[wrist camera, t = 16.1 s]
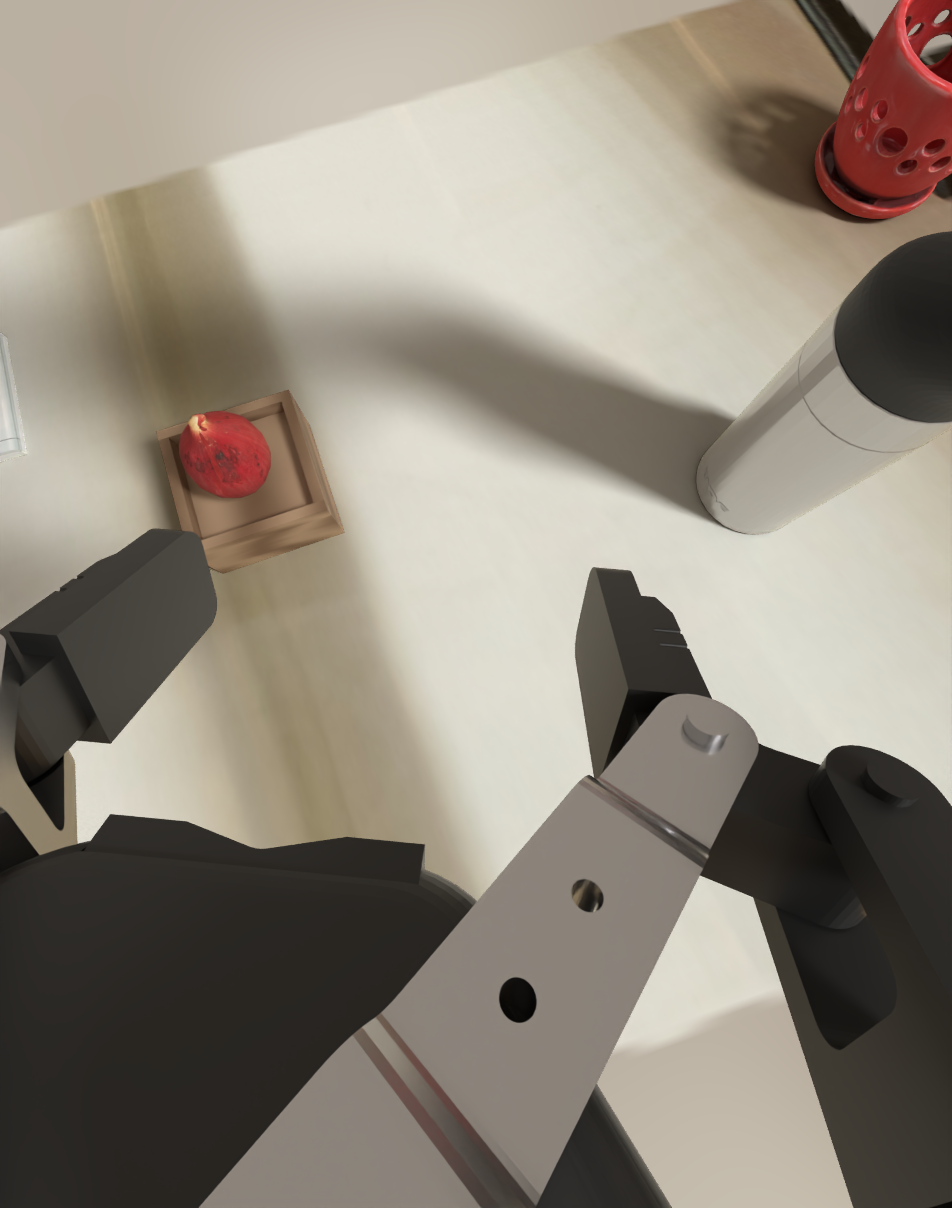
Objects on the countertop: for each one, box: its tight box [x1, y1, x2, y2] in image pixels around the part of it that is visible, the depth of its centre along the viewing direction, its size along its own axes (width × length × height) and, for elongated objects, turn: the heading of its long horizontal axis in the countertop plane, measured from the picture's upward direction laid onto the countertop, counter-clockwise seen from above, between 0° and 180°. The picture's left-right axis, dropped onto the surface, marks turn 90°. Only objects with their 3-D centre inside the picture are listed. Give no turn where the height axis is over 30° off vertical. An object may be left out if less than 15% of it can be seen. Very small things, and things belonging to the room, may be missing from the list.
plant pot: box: [815, 0, 952, 219], centre depth 44 cm, size 13×13×12 cm
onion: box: [179, 411, 271, 498], centre depth 36 cm, size 6×6×8 cm
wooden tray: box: [156, 390, 345, 573], centre depth 41 cm, size 11×11×5 cm
